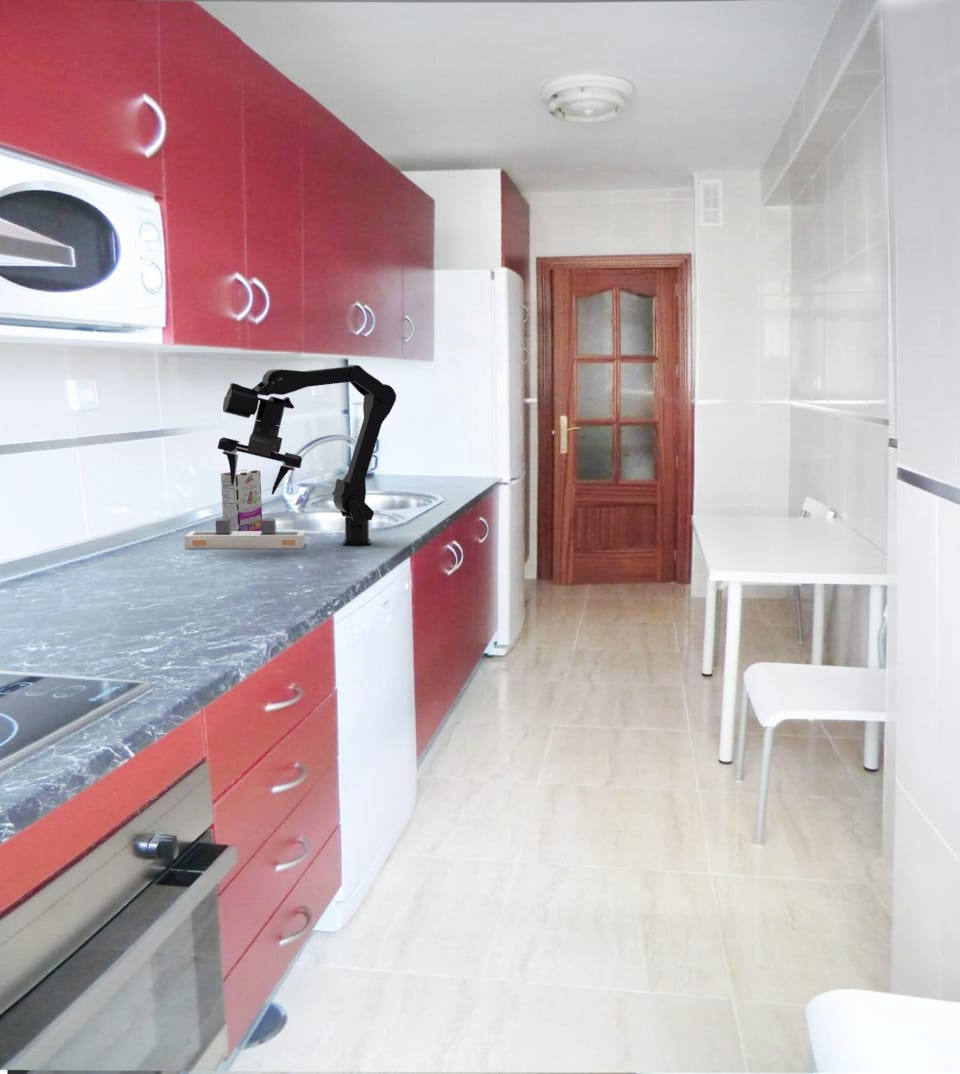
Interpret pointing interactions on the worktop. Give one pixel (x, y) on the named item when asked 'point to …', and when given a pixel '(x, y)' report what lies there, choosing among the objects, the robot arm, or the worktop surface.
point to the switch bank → (245, 540)
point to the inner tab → (268, 525)
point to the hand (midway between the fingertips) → (252, 489)
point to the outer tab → (223, 525)
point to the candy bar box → (242, 500)
